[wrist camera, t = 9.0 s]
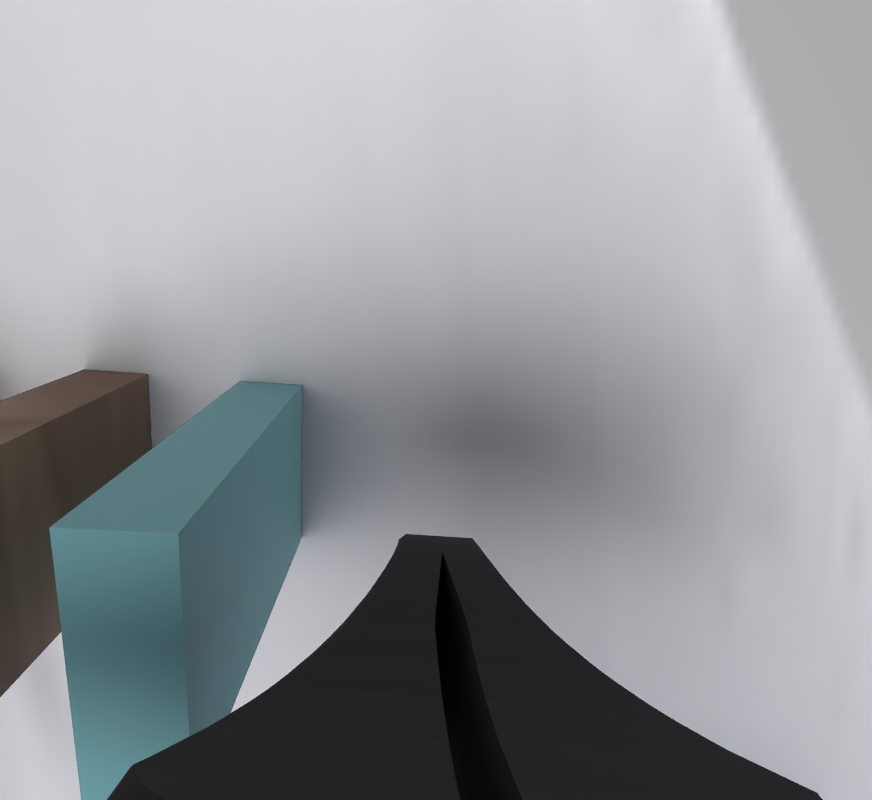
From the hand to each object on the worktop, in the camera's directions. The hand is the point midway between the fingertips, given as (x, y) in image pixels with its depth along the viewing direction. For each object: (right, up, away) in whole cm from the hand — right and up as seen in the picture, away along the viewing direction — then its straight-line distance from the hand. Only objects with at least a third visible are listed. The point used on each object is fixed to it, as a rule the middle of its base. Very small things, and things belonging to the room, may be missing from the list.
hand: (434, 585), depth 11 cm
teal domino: (-4, +2, +5) cm, 7 cm away
